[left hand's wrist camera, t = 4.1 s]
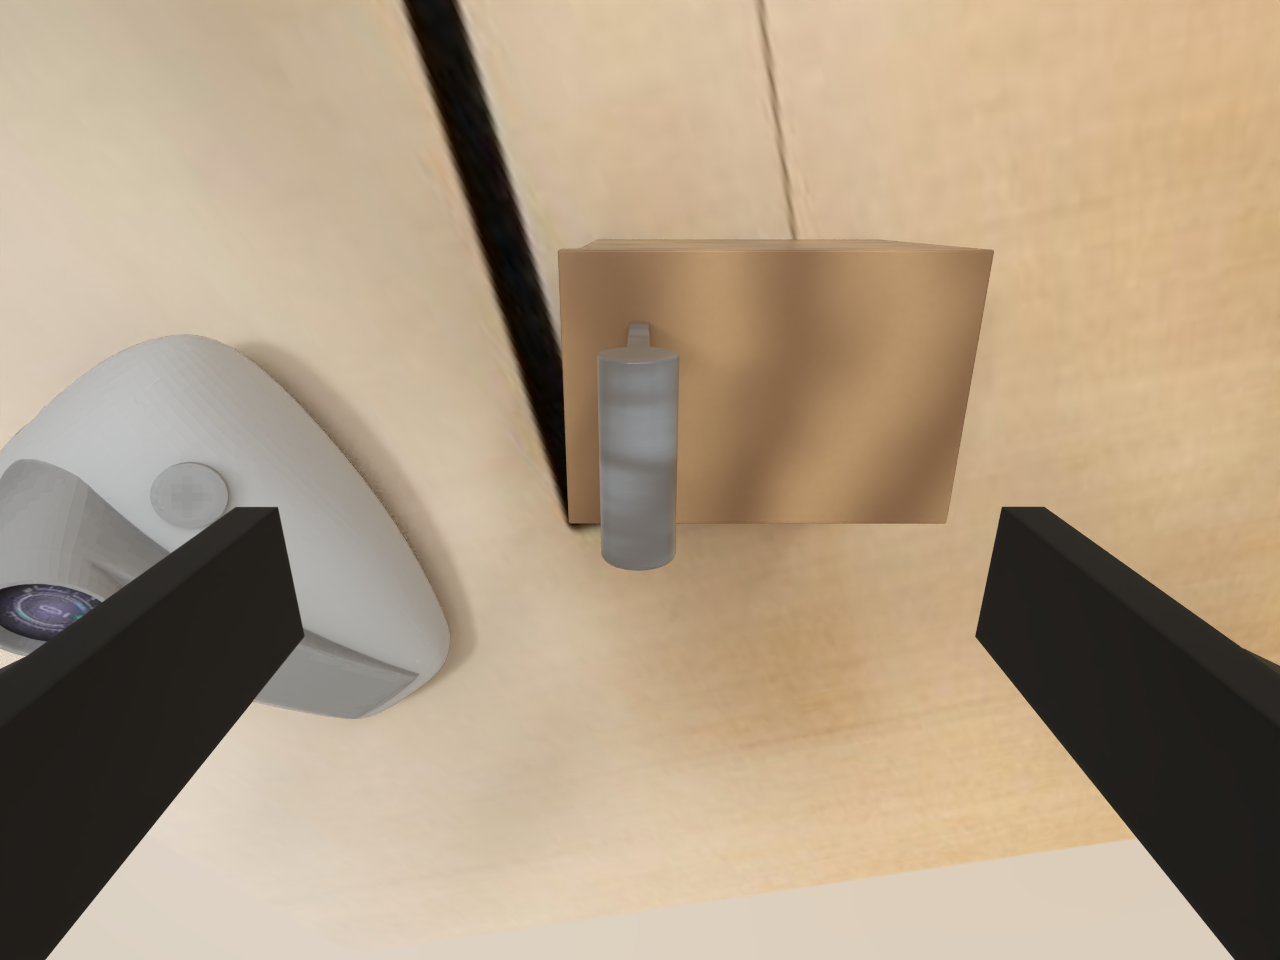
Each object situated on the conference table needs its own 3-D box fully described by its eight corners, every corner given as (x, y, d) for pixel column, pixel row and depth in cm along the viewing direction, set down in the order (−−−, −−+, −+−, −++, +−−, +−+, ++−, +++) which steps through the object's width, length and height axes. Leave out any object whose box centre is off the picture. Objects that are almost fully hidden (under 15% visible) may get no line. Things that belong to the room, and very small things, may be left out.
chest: (600, 434, 38) (585, 513, 28) (596, 239, 35) (576, 248, 24) (857, 434, 38) (936, 514, 28) (880, 239, 35) (981, 248, 24)
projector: (109, 669, 44) (-131, 873, 30) (28, 304, 36) (-352, 357, 22) (456, 695, 44) (375, 906, 31) (454, 343, 36) (343, 418, 23)
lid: (571, 514, 28) (541, 641, 20) (560, 248, 24) (518, 264, 16) (937, 514, 28) (1064, 641, 20) (982, 249, 24) (1163, 264, 16)
